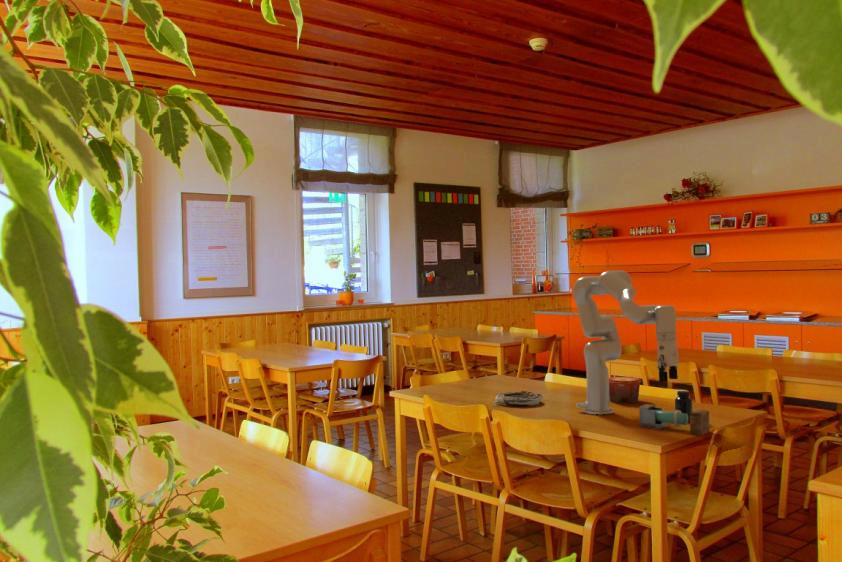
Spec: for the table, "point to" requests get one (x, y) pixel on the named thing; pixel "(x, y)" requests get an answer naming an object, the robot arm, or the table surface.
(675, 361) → the robot arm
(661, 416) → the tube
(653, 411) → the sleeve
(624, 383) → the food container
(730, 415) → the table surface
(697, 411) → the socket block
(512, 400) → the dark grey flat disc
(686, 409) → the supplement bottle
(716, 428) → the table surface
